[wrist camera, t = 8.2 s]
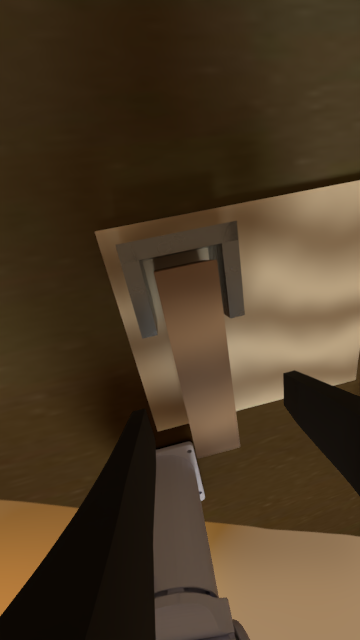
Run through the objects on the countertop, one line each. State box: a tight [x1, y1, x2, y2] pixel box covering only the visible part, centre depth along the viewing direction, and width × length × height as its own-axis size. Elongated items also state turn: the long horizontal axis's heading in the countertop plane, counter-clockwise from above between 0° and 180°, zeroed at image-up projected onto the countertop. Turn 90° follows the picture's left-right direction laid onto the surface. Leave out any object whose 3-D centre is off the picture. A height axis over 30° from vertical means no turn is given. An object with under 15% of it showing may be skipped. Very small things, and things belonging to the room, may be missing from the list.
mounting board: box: [95, 180, 360, 431], centre depth 16 cm, size 18×21×1 cm
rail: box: [154, 259, 240, 458], centre depth 14 cm, size 14×3×4 cm, turn 11°
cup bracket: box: [115, 221, 245, 339], centre depth 12 cm, size 6×7×3 cm
